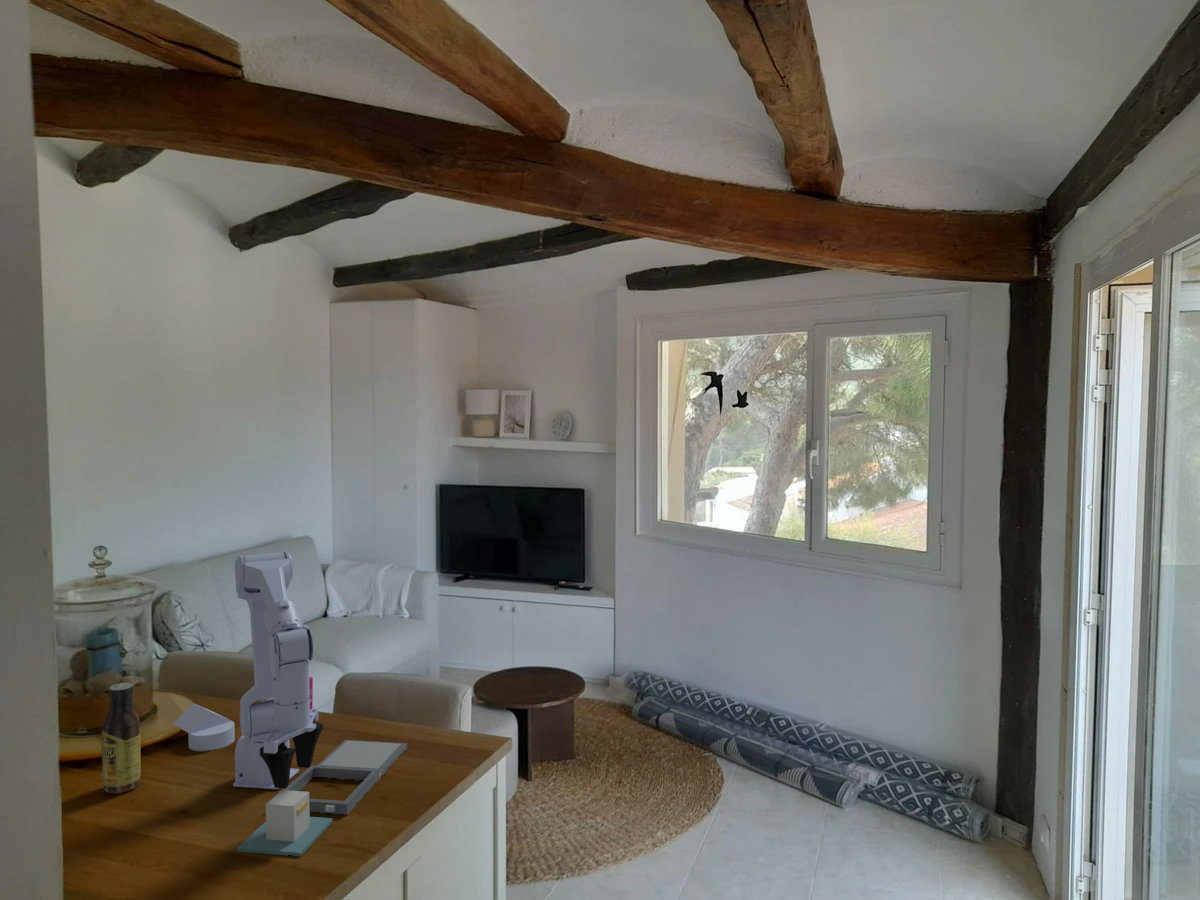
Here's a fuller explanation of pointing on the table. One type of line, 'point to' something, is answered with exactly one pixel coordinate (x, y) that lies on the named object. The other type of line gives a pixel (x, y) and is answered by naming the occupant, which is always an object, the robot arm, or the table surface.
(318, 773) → the case
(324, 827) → the mat
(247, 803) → the table surface
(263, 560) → the robot arm
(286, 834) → the block
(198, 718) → the wedge on round base
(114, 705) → the sauce bottle
